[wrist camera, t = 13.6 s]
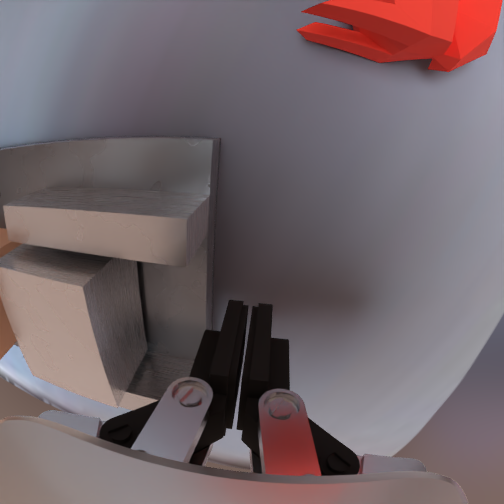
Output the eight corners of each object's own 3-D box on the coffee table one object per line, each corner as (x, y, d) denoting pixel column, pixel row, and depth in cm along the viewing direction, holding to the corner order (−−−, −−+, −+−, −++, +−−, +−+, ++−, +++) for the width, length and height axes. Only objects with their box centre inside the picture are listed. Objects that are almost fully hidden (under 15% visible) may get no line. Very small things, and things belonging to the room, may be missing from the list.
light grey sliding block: (70, 329, 14) (32, 375, 11) (47, 228, 12) (-9, 264, 8) (147, 349, 14) (117, 408, 10) (134, 238, 12) (82, 286, 8)
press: (-7, 320, 18) (-43, 356, 13) (-42, 157, 12) (-96, 177, 7) (211, 384, 17) (193, 459, 12) (220, 138, 12) (176, 148, 6)
